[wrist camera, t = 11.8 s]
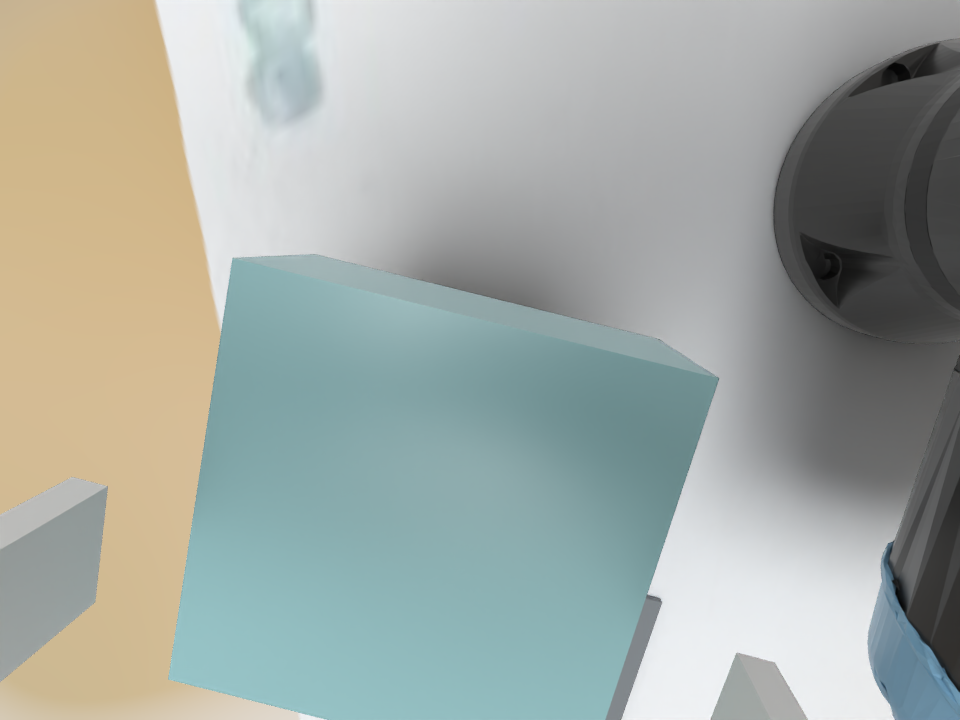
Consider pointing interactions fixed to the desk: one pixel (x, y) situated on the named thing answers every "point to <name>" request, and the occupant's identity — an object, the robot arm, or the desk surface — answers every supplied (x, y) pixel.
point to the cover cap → (426, 499)
